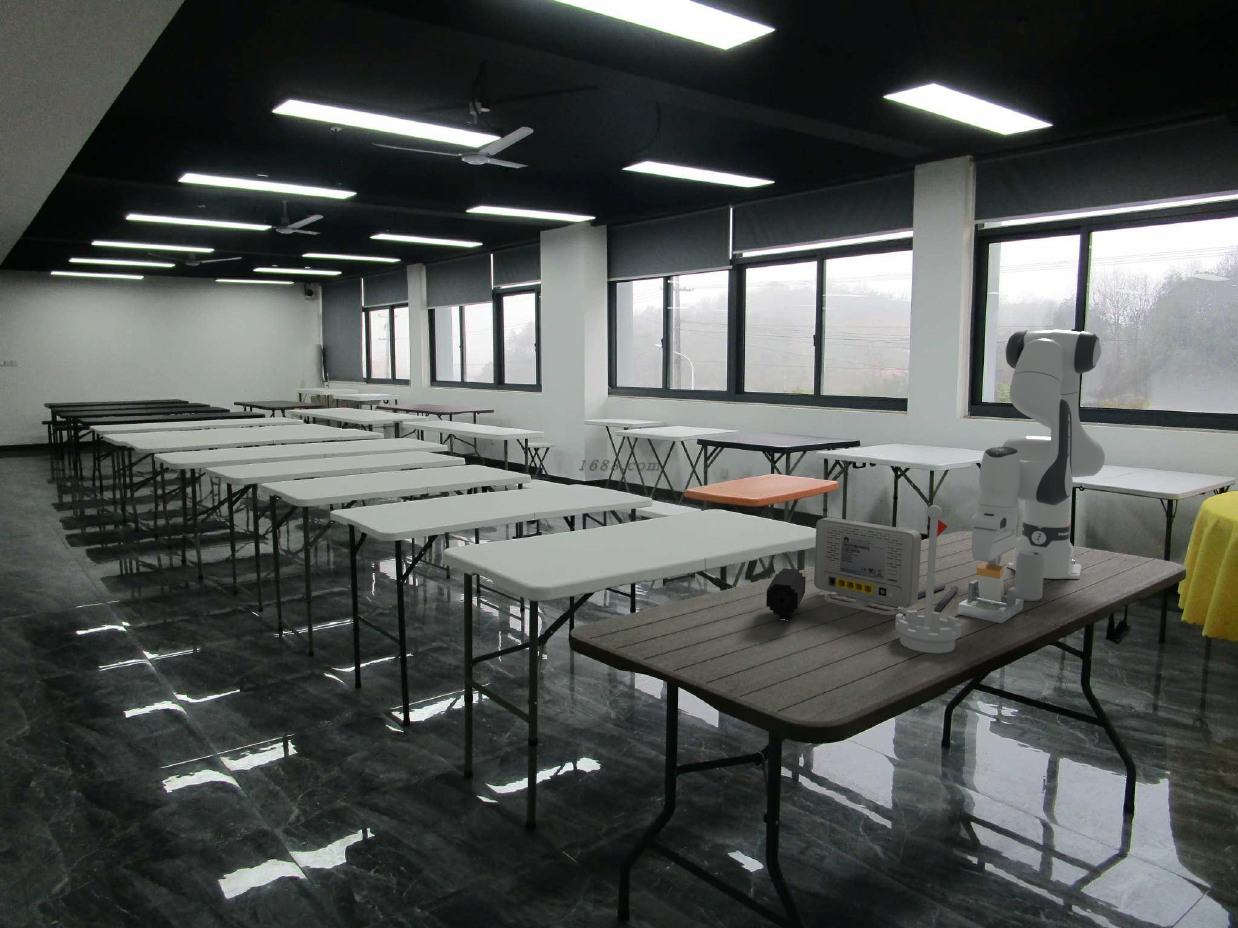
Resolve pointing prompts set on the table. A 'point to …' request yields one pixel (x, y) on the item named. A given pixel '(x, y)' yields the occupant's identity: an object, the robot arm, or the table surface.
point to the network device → (867, 563)
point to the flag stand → (929, 607)
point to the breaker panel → (990, 605)
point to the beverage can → (1029, 575)
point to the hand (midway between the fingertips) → (993, 573)
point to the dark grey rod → (946, 599)
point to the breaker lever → (990, 583)
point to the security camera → (786, 592)
